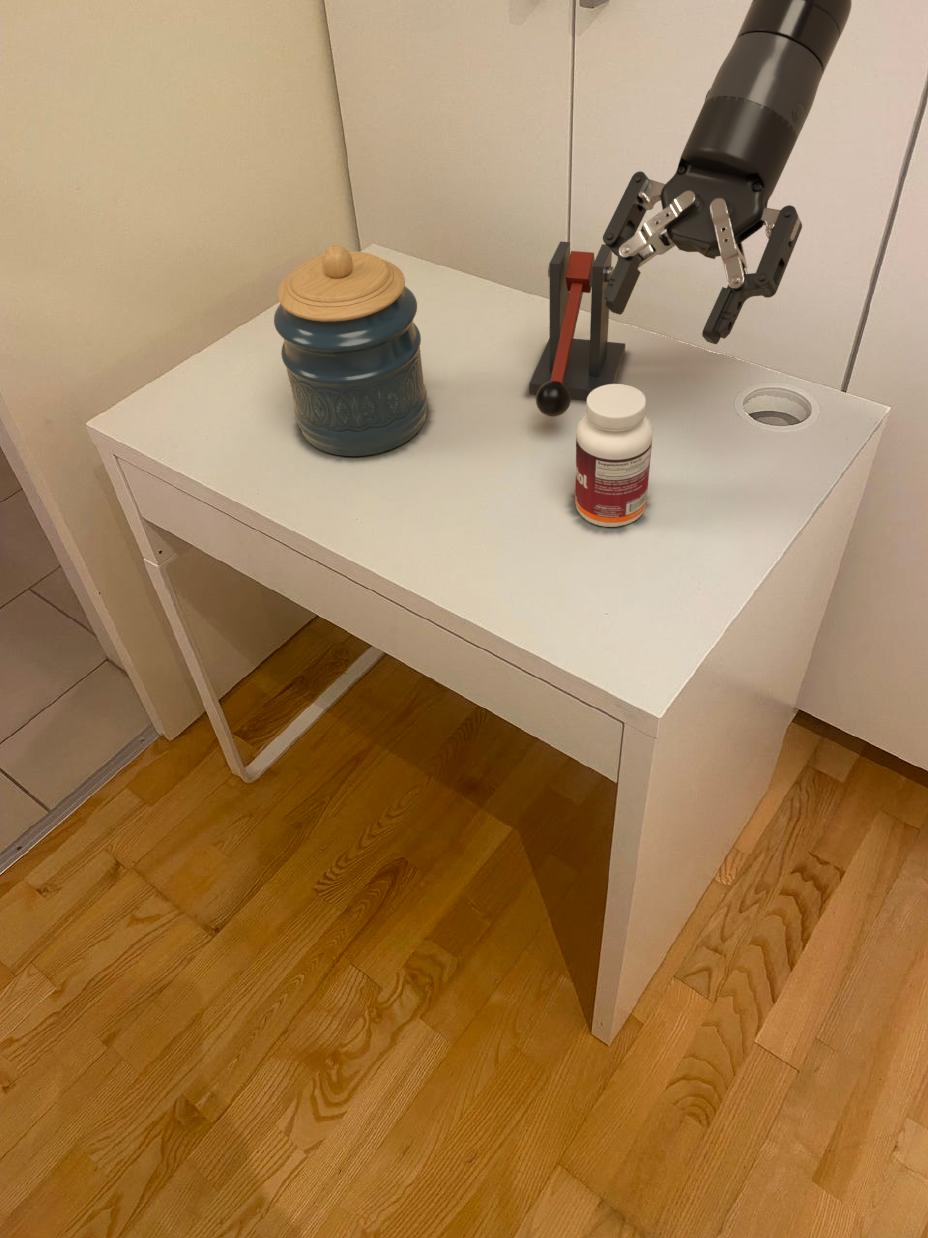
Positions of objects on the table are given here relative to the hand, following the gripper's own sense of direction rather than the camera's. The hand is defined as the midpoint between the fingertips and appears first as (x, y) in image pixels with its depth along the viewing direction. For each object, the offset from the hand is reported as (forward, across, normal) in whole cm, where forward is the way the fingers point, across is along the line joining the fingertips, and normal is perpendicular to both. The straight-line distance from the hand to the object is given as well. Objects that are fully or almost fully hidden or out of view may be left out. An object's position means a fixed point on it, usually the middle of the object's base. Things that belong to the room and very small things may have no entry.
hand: (659, 324), depth 74 cm
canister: (+16, +28, -6) cm, 33 cm away
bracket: (+3, +15, -18) cm, 24 cm away
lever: (+2, +13, -11) cm, 17 cm away
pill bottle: (+14, +1, -8) cm, 16 cm away
